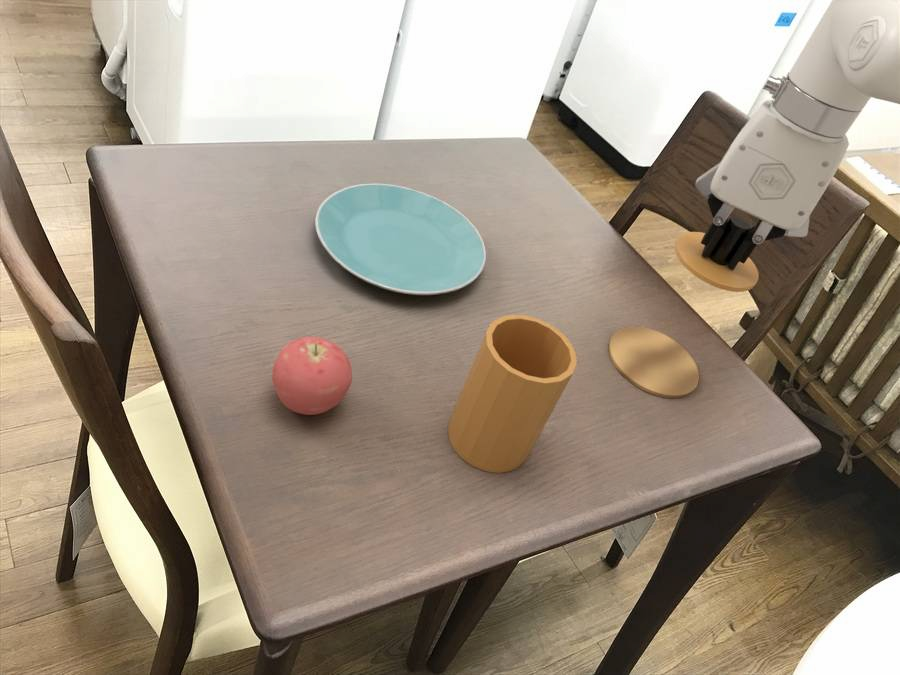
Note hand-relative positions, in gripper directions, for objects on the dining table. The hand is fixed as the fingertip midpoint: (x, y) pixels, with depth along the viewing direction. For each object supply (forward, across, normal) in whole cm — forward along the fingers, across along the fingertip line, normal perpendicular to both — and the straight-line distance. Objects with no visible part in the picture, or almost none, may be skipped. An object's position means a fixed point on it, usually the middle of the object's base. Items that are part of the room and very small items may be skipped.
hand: (719, 256), depth 86 cm
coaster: (+17, 0, 0) cm, 17 cm away
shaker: (+17, -13, -25) cm, 33 cm away
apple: (+17, -31, -32) cm, 48 cm away
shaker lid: (+1, 0, 0) cm, 1 cm away
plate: (+17, -35, -3) cm, 39 cm away
